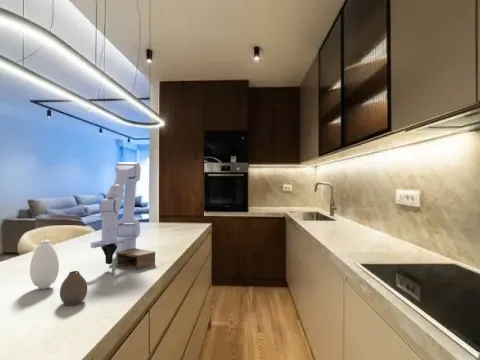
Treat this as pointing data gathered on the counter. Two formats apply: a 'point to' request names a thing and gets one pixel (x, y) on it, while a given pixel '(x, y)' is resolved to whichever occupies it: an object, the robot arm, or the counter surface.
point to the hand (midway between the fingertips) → (108, 263)
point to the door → (113, 263)
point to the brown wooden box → (136, 258)
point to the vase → (73, 289)
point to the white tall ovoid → (44, 265)
